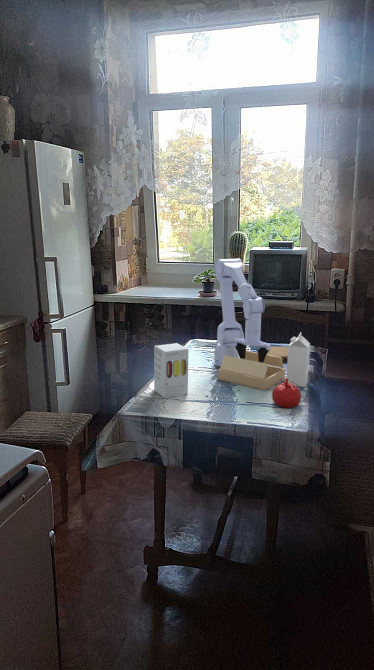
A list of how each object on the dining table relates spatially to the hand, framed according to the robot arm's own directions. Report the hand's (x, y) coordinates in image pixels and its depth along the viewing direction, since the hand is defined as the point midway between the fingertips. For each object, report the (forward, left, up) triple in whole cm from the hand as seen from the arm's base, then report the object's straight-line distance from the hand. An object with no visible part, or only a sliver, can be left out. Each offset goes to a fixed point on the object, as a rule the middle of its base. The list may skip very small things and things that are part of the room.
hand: (251, 364), depth 194 cm
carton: (0, +1, -6) cm, 6 cm away
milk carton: (+16, +7, -6) cm, 18 cm away
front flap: (0, -6, +1) cm, 6 cm away
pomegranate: (+22, -15, -6) cm, 28 cm away
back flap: (0, +7, +1) cm, 7 cm away
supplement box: (-16, -29, -6) cm, 34 cm away
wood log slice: (-5, +35, -6) cm, 36 cm away
